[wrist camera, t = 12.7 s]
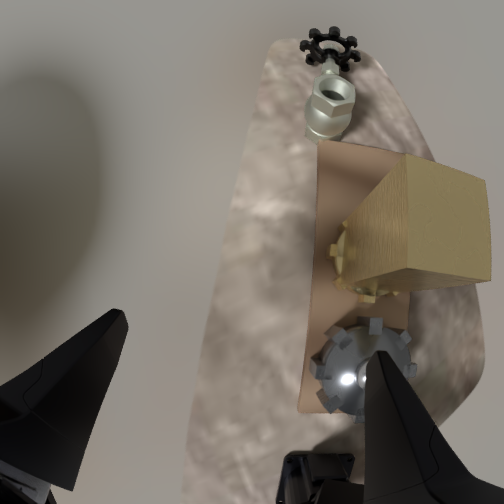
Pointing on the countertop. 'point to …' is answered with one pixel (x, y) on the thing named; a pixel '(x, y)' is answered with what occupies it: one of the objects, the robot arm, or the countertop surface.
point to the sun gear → (356, 362)
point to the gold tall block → (415, 233)
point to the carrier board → (326, 232)
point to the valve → (329, 86)
